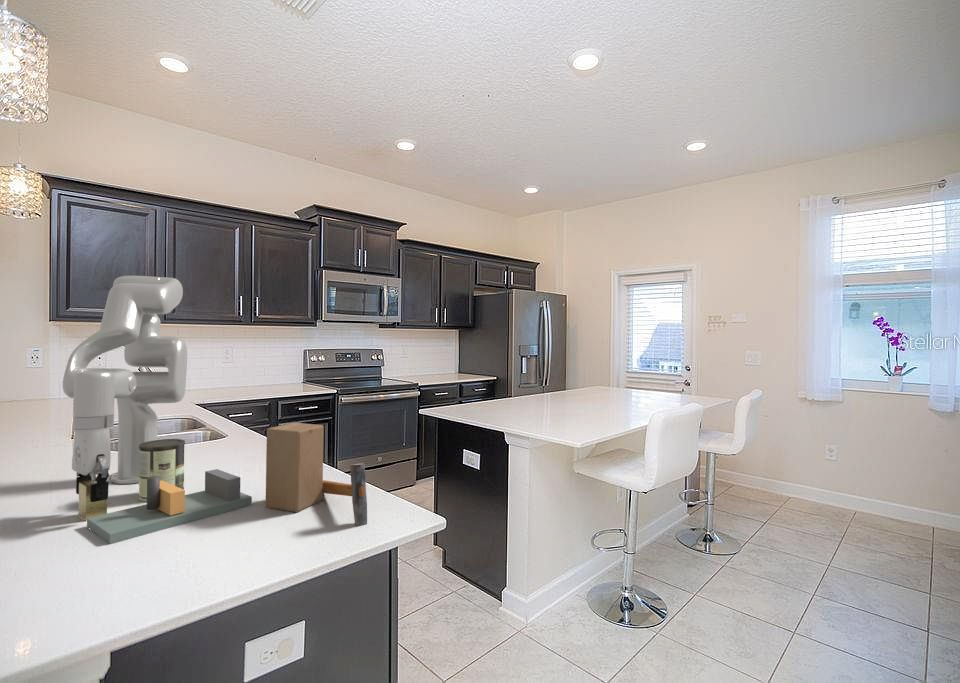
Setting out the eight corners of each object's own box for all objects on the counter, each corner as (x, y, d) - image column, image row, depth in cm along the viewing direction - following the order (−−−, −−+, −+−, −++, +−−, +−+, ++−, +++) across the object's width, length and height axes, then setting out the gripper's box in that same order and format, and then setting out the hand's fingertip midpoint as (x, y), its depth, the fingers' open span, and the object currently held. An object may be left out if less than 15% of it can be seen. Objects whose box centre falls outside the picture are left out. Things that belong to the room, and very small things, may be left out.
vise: (86, 527, 106) (87, 494, 106) (224, 493, 131) (224, 466, 131) (110, 544, 98) (110, 508, 98) (251, 504, 123) (252, 475, 123)
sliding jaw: (136, 506, 113) (137, 474, 113) (162, 500, 118) (162, 469, 118) (158, 518, 106) (158, 484, 106) (184, 511, 111) (185, 478, 111)
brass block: (78, 516, 113) (78, 482, 113) (99, 511, 116) (99, 478, 116) (85, 521, 110) (86, 486, 110) (106, 516, 113) (107, 482, 113)
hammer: (312, 463, 135) (355, 465, 111) (321, 462, 136) (365, 463, 113) (315, 514, 132) (359, 526, 109) (324, 512, 134) (369, 524, 111)
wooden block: (323, 500, 127) (324, 424, 127) (297, 513, 117) (298, 431, 117) (292, 495, 130) (293, 422, 130) (264, 507, 121) (265, 428, 121)
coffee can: (168, 487, 135) (169, 437, 135) (192, 492, 131) (193, 441, 131) (129, 497, 126) (129, 444, 126) (153, 504, 121) (154, 448, 121)
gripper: (61, 421, 115) (59, 493, 114) (86, 429, 105) (84, 508, 104) (100, 418, 121) (98, 486, 120) (126, 425, 111) (124, 499, 110)
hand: (91, 496), depth 112 cm, fingers open, 9 cm apart
